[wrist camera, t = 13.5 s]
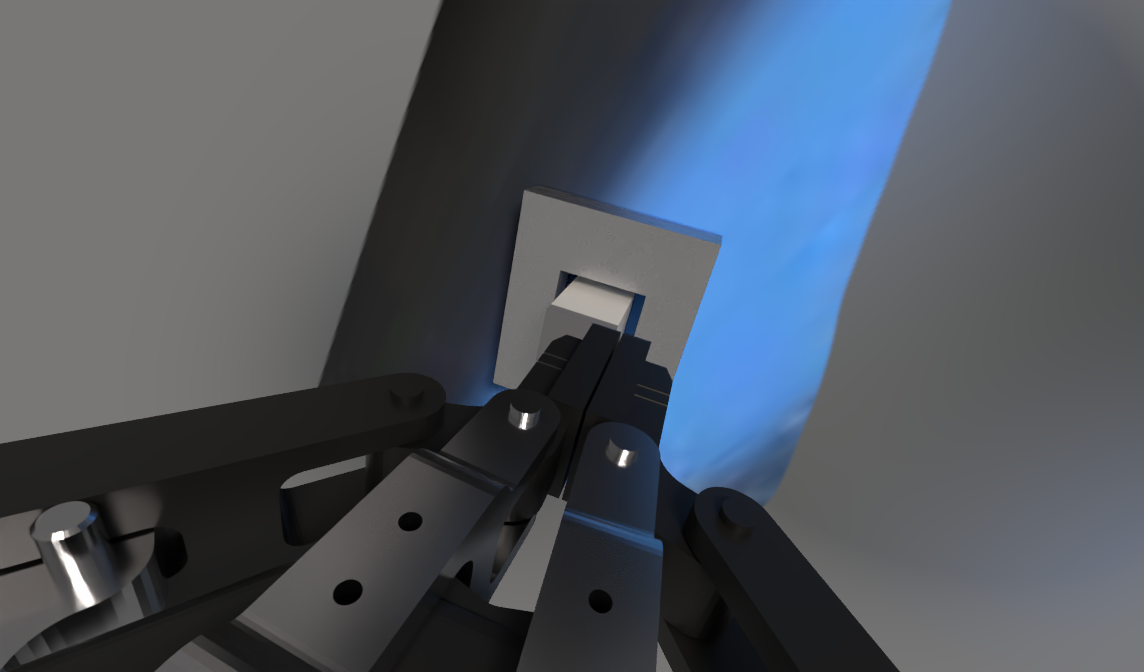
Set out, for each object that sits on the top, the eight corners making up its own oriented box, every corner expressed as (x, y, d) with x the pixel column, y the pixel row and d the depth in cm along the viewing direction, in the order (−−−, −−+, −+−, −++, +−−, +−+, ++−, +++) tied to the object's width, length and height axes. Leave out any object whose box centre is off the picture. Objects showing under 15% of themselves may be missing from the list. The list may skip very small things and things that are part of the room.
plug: (579, 274, 34) (546, 308, 27) (636, 291, 33) (615, 331, 27) (567, 325, 35) (533, 369, 29) (620, 343, 35) (597, 391, 29)
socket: (538, 185, 32) (519, 191, 29) (721, 235, 30) (721, 247, 27) (506, 367, 38) (489, 387, 35) (656, 419, 36) (650, 444, 33)
